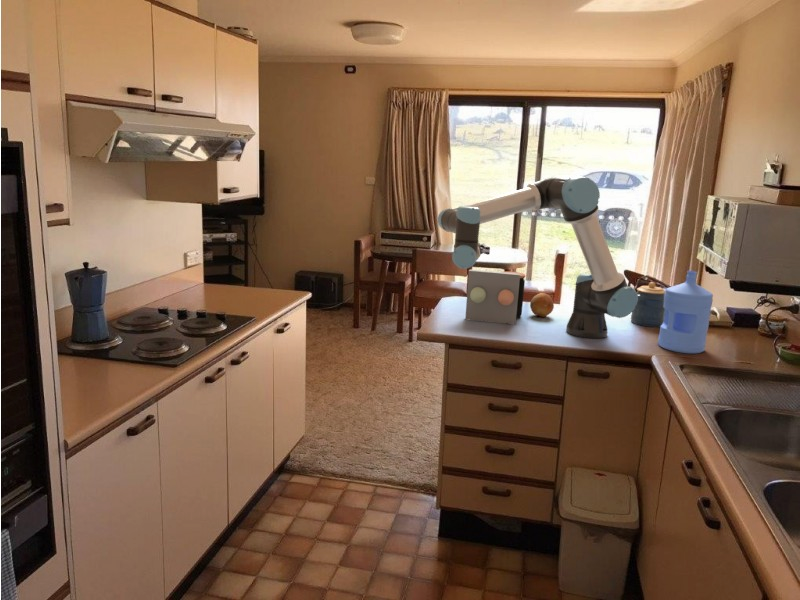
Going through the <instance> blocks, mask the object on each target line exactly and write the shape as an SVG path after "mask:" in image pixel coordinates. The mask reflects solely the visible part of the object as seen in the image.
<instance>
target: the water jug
mask: <svg viewBox="0 0 800 600" xmlns="http://www.w3.org/2000/svg"><path fill="white" fill-rule="evenodd" d="M686 273H687V275H685V276H686V278H685V279H686V280H685V281H684V282H683V283H680V284H676V285H673V286H670V287H669V286H668V287H667V288H666V289H665V290H664V291H665V295H664V305H663V307H664V308H665V315H664V322H663V324H662V325H661V326H660V328H659V334H658V338H657V344H658V346H659V347H661V348H662V349H664V350H668V351H671V352H674V353H682V354H700V353H701V354H702V352H704V351H705V350H706V340H707V335H708V330H709V327H710V326H709V325H710V315H711V309H712V305H713V297H714V295H713V293H712V292H711V291H709V290H708V289H705V288H703V286H701V285H698V284H697V283H696V282H697V274H698V272H697V271H695V270H687V271H686Z"/></svg>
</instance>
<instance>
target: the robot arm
mask: <svg viewBox="0 0 800 600" xmlns="http://www.w3.org/2000/svg"><path fill="white" fill-rule="evenodd" d="M600 196H601V195H600V189H599V186H598V185H597V183H596V182H595V181H594V180H593V179H591V178H589V177H586V176H584V175H583V176H582V175H562V174H558V175H553V176H550V177H547V178H543V179H541V180H539V181H535V182H531V183H528V184H527V186H526V187H525V188H521V189H518V190H514V191H511V192H507V193H503V194H502V195H497V196H494V197H491V198H487V199H484V200H479V201H477V202H473V203H469V204H467V205H464V206H463V205H462V206H460V205H459V207H456V208H446V209H443V210H442V211H441V212H440V213H438V215H437V223H438V226H439V227H440V228H441V229H442V230H443V231H445V232H448V233H453V234H455V238H454V245H453V251H452V262H453V263H454V265H455V266H456V267H457V268H459V269H462V270H466V269H469V268H472V267H474V265H475V264H476V262H477V260H479V258H480V256H481V255H482V254H483V255H486V256H487V255H490V253H491V252H490V250H491V247H490V246H487V245H486V243H480V241H479V236H480V226H481V225H482V224H485V223H488V222H493V221H496V220H499V219H502V218H505V217H508V216H512V215H516V214H519V213H522V212H526V211H528V210H533V211H539V210H543V209H544V210H545V209H555V210H560V211H561V214H562V216H563V219H564V221H565V222H566V223H569V224H571V228H572V229H573V232H574V235H575V237H576V239H577V242H578V245H579V247H580V249H581V251H582V255H583V257H584V260H585V262H586V265H587V268H588V270H589V272H590V273H581V274H578V276H577V277H576V280H575V284H574V285H575V287H574V288H575V290H574V298H573V308H572V309H573V310H572V312H571V315H570V318H569V319H568V321H567V324H566V328H565V332H567V333H568V334H570V335H573V336H575V337H581V338H588V339H602V338H606V337H608V326H607V320H606V316H605V315H608V316H610V317H613V318H618V319H620V318H621V319H622V318H625V317H628V316H630V315H631V314H632V311H633V310H634V309H635V306H636V305H637V301H638V295H637V291H636V289H635V288H633V287H632V286H629V285H628V283H627V280H626V278H625V275H624V274H623V273H621V272H618V270H617V267H616V264H615V262H614V259H613V256H612V253H611V251H610V248H609V246H608V243H607V240H606V238H605V235H604V233H603V229H602V227H601V225H600V222H599V219H598V216H597V212H598V211H599V206H598V204H599V202H600V201H599V199H600Z"/></svg>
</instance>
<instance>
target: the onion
mask: <svg viewBox="0 0 800 600" xmlns="http://www.w3.org/2000/svg"><path fill="white" fill-rule="evenodd" d="M554 305H555V304H554V301H553V299H552V297H551V296H550V295H549V294H547V293H545V292H540V293H537V294H536V295H534V296H533V297H532V299H531V300H530V303H529V308H530V310H531V312H532V314H533V315H535V316H539V317H540V318H545V317H547V316H549V315H550V314H551V313H552V312H553V311H554V308H555V306H554Z"/></svg>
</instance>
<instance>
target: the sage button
mask: <svg viewBox="0 0 800 600" xmlns="http://www.w3.org/2000/svg"><path fill="white" fill-rule="evenodd" d="M485 296H486V293H485V290H484V289H483V288H481V287H475V288H473V289H472V291H471V293H470V298H471V300H472V301H473V302H476V303H480V302H482V301H483V300H484V299H485Z"/></svg>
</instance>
